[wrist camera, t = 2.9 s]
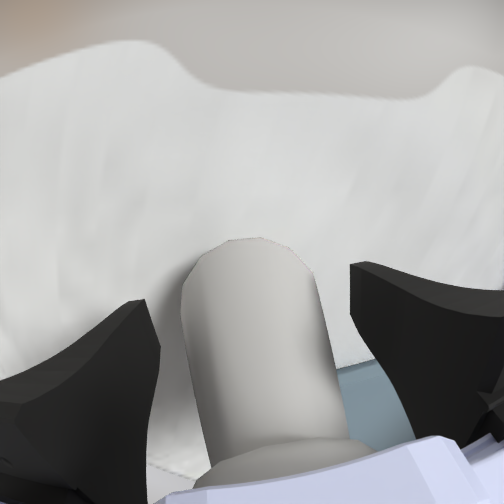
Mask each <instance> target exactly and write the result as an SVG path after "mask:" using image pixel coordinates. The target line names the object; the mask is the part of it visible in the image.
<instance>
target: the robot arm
mask: <svg viewBox="0 0 504 504" xmlns="http://www.w3.org/2000/svg"><path fill="white" fill-rule="evenodd" d="M350 315H351V317H352V319H353V322H354V324H355V326H356V328H357V330H358V332H359V334H360V336H361V337H362V339H363V340H364V342H365V343H366V345H367V347H368V348H369V350H370V351H371V352H372V354H373V355H374V357H375V358H376V360H377V361H378V363H379V364H380V366H381V367H382V369H383V370H384V372H385V373H386V375H387V376H388V378H389V380H390V381H391V383H392V385H393V387H394V389H395V391H396V393H397V395H398V397H399V399H400V401H401V404H402V406H403V408H404V410H405V413H406V415H407V417H408V420H409V422H410V425H411V427H412V430H413V433H414V435H415V438H416V440H414V441H410V442H406V443H402V444H399V445H396V446H393V447H391V448H388V449H385V450H382V451H380V452H377V453H374V454H371V455H368V456H364V457H361V458H358V459H355V460H351V461H348V462H344V463H341V464H337V465H334V466H330V467H326V468H322V469H318V470H313V471H309V472H305V473H300V474H295V475H290V476H285V477H279V478H274V479H268V480H261V481H254V482H247V483H238V484H229V485H218V486H207V487H202V488H196V489H191V490H184V491H178V492H173V493H171V494H169V495H167V496H165V497H164V498H162V499H160V500H159V501H157V502H156V503H154V504H504V291H499V290H482V289H472V288H464V287H458V286H453V285H448V284H443V283H439V282H435V281H431V280H427V279H424V278H420V277H417V276H414V275H410V274H407V273H404V272H401V271H398V270H395V269H392V268H389V267H386V266H383V265H380V264H376V263H372V262H367V261H364V262H359V263H354V264H350ZM160 349H161V346H160V344H159V341H158V338H157V335H156V332H155V329H154V326H153V323H152V320H151V317H150V314H149V311H148V308H147V305H146V302H145V299H142V300H135V301H129V302H127V303H125V304H123V305H122V306H121V307H119V308H118V309H117V310H115V311H114V312H113V313H112V314H110V315H109V316H108V317H107V318H105V319H104V320H103V321H102V322H100V323H99V324H98V325H97V326H96V327H94V328H93V329H92V330H90V331H89V332H88V333H86V334H85V335H84V336H82V337H81V338H80V339H79V340H77V341H76V342H75V343H73V344H72V345H70V346H69V347H67V348H66V349H64V350H63V351H61V352H60V353H58V354H56V355H55V356H53V357H51V358H50V359H48V360H46V361H44V362H42V363H40V364H38V365H36V366H34V367H32V368H30V369H28V370H26V371H24V372H21V373H19V374H17V375H14V376H12V377H9V378H6V379H3V380H1V381H0V504H148V502H147V485H146V446H147V429H148V422H149V416H150V411H151V406H152V401H153V397H154V392H155V387H156V382H157V378H158V373H159V365H160Z"/></svg>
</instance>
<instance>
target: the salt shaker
mask: <svg viewBox="0 0 504 504" xmlns="http://www.w3.org/2000/svg"><path fill="white" fill-rule="evenodd" d="M180 316H181V322H182V328H183V334H184V340H185V346H186V352H187V357H188V363H189V368H190V373H191V379H192V384H193V389H194V394H195V399H196V403H197V408H198V413H199V417H200V422H201V426H202V431H203V435H204V439H205V443H206V448H207V452H208V456H209V460H210V464H211V469H210V470H209V471H208V472H206V473H205V474H204V475H202V476H201V477H200V478H199V479H197V480H196V482H195V485H194V487H193V489H196V488H202V487H207V486H218V485H229V484H238V483H247V482H254V481H261V480H268V479H274V478H279V477H285V476H290V475H295V474H300V473H305V472H309V471H313V470H318V469H322V468H326V467H330V466H334V465H337V464H341V463H344V462H348V461H351V460H355V459H358V458H361V457H364V456H368V455H371V454H374V453H377V452H378V451H376V450H374V449H373V448H371V447H369V446H367V445H366V444H364V443H362V442H361V441H359V440H352V439H350V437H349V431H348V426H347V421H346V415H345V410H344V405H343V400H342V395H341V390H340V386H339V381H338V376H337V371H336V367H335V362H334V358H333V353H332V349H331V344H330V340H329V335H328V331H327V327H326V322H325V318H324V314H323V310H322V306H321V302H320V298H319V294H318V290H317V286H316V282H315V278H314V274H313V272H312V271H311V270H310V269H309V267H308V266H307V265H306V264H305V263H304V262H303V261H302V260H301V259H300V258H299V257H298V256H297V254H296V253H295V252H294V251H293V250H291V249H290V248H289V247H286V246H283V245H280V244H278V243H275V242H272V241H269V240H267V239H264V238H261V237H259V238H247V239H237V240H228V241H227V242H225V243H223V244H221V245H220V246H218V247H216V248H214V249H213V250H211V251H209V252H207V253H206V254H204V255H202V256H201V257H200V259H199V260H198V262H197V263H196V265H195V267H194V268H193V270H192V271H191V273H190V274H189V276H188V277H187V279H186V280H185V282H184V284H183V287H182V298H181V310H180Z"/></svg>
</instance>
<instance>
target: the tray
mask: <svg viewBox="0 0 504 504" xmlns="http://www.w3.org/2000/svg"><path fill="white" fill-rule="evenodd" d="M336 371H337V376H338V381H339V386H340V390H341V395H342V400H343V405H344V410H345V415H346V421H347V426H348V431H349V437H350V439H352V440H359V441H361V442H362V443H364V444H366V445H367V446H369V447H371V448H373V449H374V450H376V451H378V452H380V451H382V450H385V449H388V448H391V447H393V446H396V445H399V444H402V443H406V442H410V441H414V440H416V438H415V435H414V433H413V430H412V427H411V425H410V422H409V420H408V417H407V415H406V413H405V410H404V408H403V406H402V404H401V401H400V399H399V397H398V395H397V393H396V391H395V389H394V387H393V385H392V383H391V381H390V380H389V378H388V376H387V375H386V373H385V372H384V370H383V369H382V367H381V366H380V364H379V363H378V361H377V360H376V359H374V360H370V361H367V362H363V363H359V364H356V365H352V366H348V367H344V368H341V369H337V370H336Z"/></svg>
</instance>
